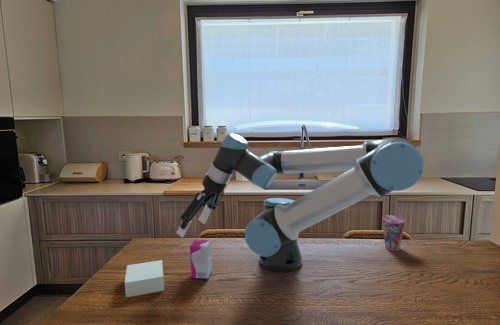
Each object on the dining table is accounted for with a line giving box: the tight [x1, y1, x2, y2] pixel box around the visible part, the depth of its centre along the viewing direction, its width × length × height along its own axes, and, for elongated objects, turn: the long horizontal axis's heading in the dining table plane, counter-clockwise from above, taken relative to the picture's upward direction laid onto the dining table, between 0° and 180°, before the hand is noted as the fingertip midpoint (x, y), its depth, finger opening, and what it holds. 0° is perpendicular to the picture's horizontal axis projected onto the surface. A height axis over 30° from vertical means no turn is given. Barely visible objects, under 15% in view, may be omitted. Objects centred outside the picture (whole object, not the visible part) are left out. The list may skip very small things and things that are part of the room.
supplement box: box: [189, 239, 213, 281], centre depth 105 cm, size 6×6×12 cm
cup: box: [382, 214, 407, 252], centre depth 122 cm, size 9×8×12 cm
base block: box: [124, 259, 165, 298], centre depth 100 cm, size 11×11×5 cm
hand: (191, 228), depth 110 cm, fingers open, 13 cm apart
